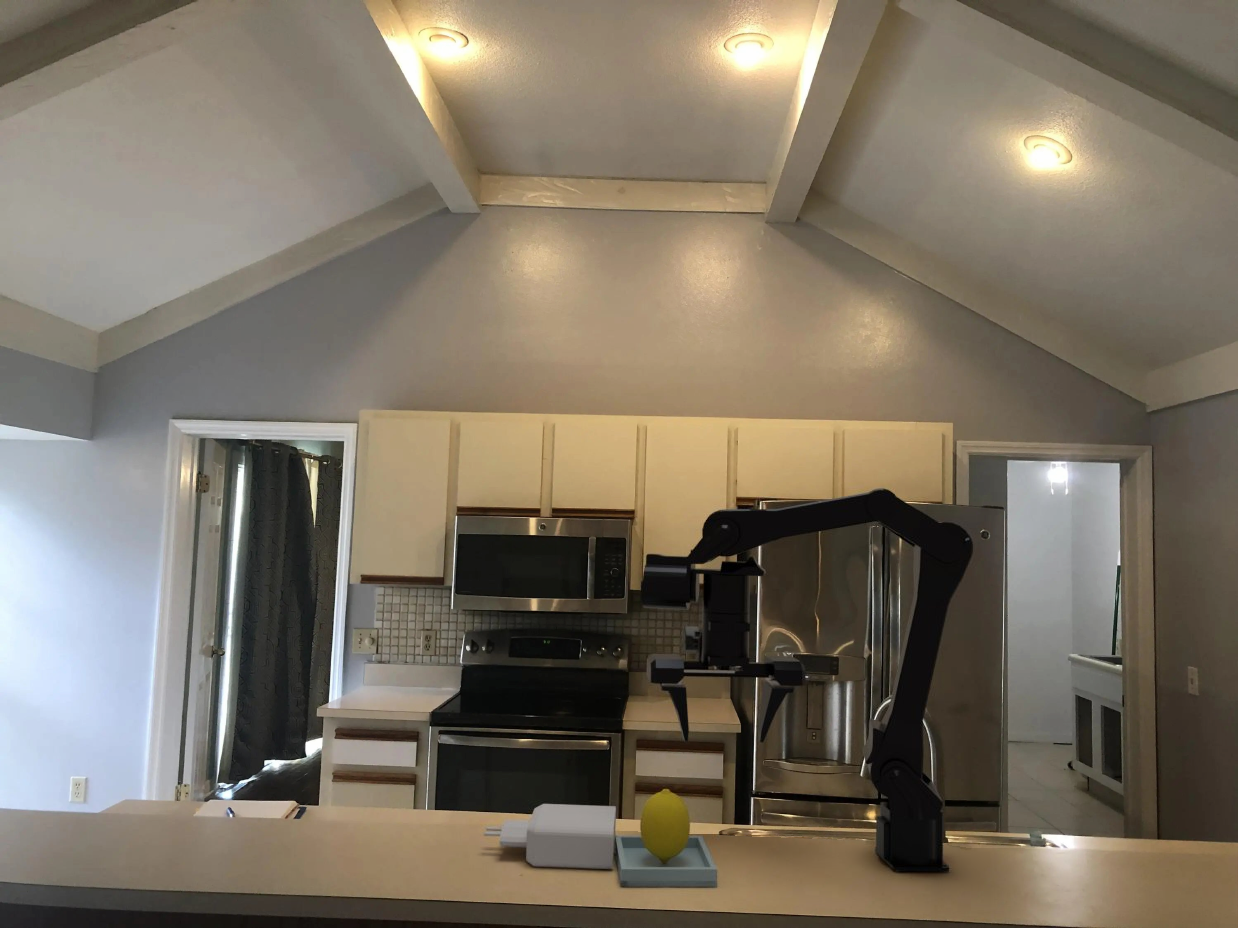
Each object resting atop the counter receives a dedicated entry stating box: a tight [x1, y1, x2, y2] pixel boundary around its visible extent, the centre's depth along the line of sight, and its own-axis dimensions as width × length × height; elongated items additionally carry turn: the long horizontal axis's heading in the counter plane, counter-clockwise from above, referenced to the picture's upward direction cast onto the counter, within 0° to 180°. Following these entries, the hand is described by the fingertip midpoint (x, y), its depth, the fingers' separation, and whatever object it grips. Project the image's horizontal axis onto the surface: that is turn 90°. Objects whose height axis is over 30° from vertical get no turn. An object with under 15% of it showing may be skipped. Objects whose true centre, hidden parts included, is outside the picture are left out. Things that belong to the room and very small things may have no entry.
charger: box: [483, 803, 617, 870], centre depth 103 cm, size 5×9×15 cm
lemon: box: [639, 788, 691, 863], centre depth 100 cm, size 6×6×8 cm
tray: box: [614, 834, 718, 888], centre depth 99 cm, size 10×10×2 cm
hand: (723, 741), depth 109 cm, fingers open, 9 cm apart
